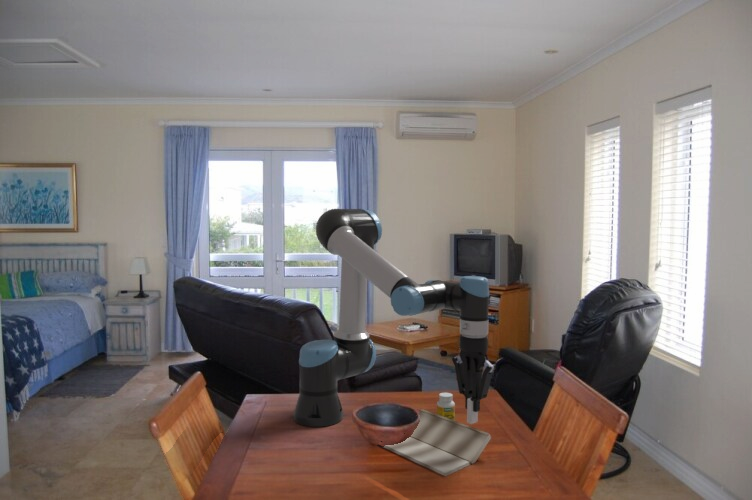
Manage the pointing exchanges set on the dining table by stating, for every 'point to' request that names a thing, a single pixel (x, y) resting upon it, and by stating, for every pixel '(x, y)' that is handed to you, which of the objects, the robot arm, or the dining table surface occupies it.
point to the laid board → (428, 456)
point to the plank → (451, 436)
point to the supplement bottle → (446, 406)
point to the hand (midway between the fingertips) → (472, 422)
